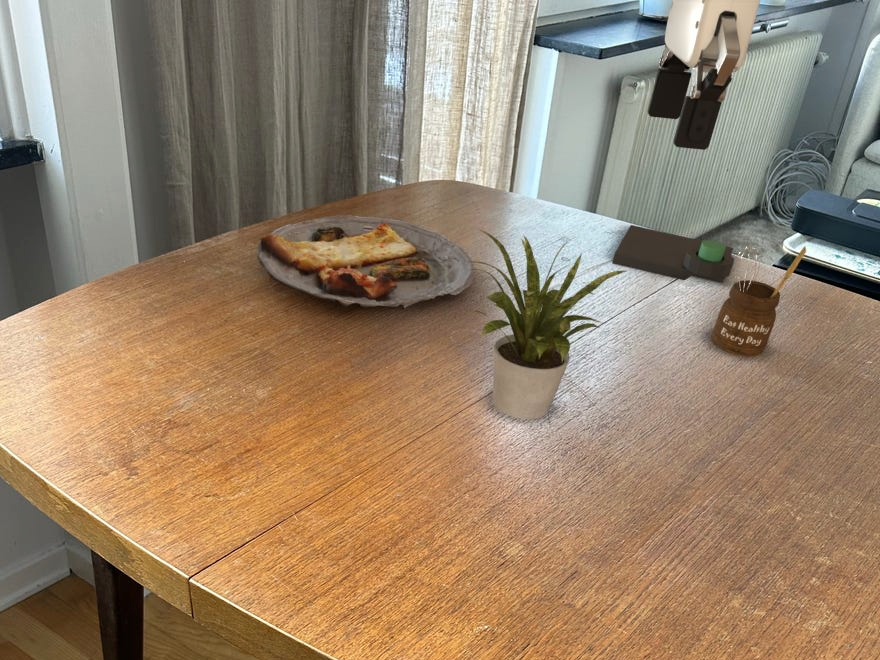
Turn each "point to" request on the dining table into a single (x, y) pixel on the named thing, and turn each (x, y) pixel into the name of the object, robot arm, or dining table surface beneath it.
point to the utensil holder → (749, 314)
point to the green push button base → (669, 255)
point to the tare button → (712, 251)
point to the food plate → (365, 261)
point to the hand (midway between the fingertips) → (675, 131)
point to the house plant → (533, 337)
